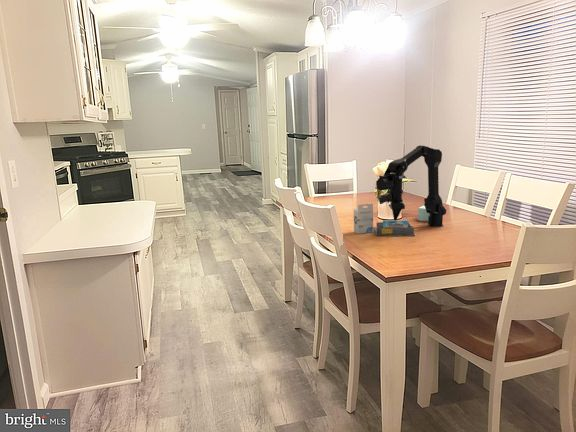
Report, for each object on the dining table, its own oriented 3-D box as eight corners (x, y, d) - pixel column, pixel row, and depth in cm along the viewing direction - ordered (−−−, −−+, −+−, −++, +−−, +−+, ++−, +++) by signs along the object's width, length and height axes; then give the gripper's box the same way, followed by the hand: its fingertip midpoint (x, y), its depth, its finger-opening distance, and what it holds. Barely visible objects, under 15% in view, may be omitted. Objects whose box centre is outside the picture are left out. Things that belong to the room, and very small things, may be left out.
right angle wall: (439, 224, 235) (440, 210, 233) (417, 221, 242) (418, 207, 240) (447, 219, 244) (447, 206, 242) (425, 217, 251) (426, 204, 250)
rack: (409, 228, 225) (410, 221, 224) (414, 236, 211) (415, 228, 210) (374, 228, 227) (374, 221, 226) (376, 235, 213) (376, 228, 212)
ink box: (368, 230, 224) (369, 201, 221) (373, 232, 219) (373, 203, 216) (353, 231, 222) (353, 202, 219) (357, 234, 217) (357, 204, 214)
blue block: (407, 232, 215) (407, 220, 214) (407, 233, 213) (408, 220, 212) (382, 232, 216) (382, 220, 215) (382, 233, 215) (382, 221, 214)
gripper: (377, 185, 220) (376, 215, 223) (380, 191, 202) (380, 224, 205) (399, 185, 219) (399, 215, 222) (405, 191, 201) (404, 224, 204)
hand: (395, 220), depth 214 cm, fingers closed
